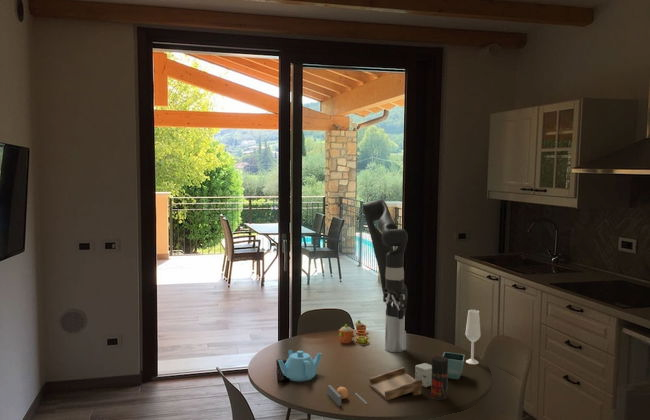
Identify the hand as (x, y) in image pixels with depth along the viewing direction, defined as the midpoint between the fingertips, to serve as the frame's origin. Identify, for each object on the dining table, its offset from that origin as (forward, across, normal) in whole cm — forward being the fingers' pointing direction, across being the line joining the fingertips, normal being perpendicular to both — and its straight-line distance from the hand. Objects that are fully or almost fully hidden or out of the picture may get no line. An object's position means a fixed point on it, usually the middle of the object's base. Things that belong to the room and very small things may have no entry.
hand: (394, 316), depth 209 cm
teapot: (+26, -19, -35) cm, 48 cm away
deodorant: (+27, +21, +6) cm, 35 cm away
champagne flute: (+28, -3, +43) cm, 52 cm away
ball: (+24, +8, -28) cm, 38 cm away
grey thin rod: (+26, +8, -22) cm, 35 cm away
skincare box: (+27, +8, +9) cm, 30 cm away
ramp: (+27, +10, -6) cm, 29 cm away
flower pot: (+28, +7, +24) cm, 38 cm away
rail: (+26, +8, -32) cm, 42 cm away
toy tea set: (+28, -55, +10) cm, 63 cm away
